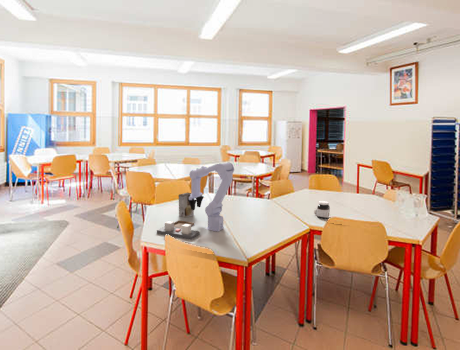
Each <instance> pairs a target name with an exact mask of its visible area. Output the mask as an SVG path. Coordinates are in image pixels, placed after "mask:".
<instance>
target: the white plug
mask: <svg viewBox="0 0 460 350" xmlns="http://www.w3.org/2000/svg"><path fill="white" fill-rule="evenodd" d="M191 230H192V226H191V224H184V225H182V234H187V235H189V234H190V233H191Z"/></svg>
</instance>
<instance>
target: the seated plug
mask: <svg viewBox="0 0 460 350" xmlns="http://www.w3.org/2000/svg"><path fill="white" fill-rule="evenodd" d="M174 222H175V221H171V220H168V221H165V222H164V226H165V231H173V230H174Z"/></svg>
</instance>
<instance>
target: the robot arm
mask: <svg viewBox="0 0 460 350" xmlns="http://www.w3.org/2000/svg"><path fill="white" fill-rule="evenodd" d="M234 171H235V168H234V164H233V163H232V162H230V161H229V162H223V163H215V164H213V165H211V166H208V167H207V166H203V165H202V166H201V167H200V168H196V169H195V170H193V169H192V170H190V172H189V179H191V183H190V186H191V190H190V191H191V194H190V197H189V199H188V202H189V203H190V206H191V210H194V211H195V209H196V207H197V208H200V207H202V206H201V205H202V202H203V199H204V198H205V197H204V195H203V192H201V180H202V178H204V177H205V176H206V177H207V176H208V175H209V174H210V173H212V172H216V173H217V174H218V176H219V177H220V180H221V182H220V184H219V186H218V188H217V191H216V192H215V195H214V197H213V199H212V201H210V202H209V203H208V204H207V206H206V207H205V209H204V211H205V214H206V216H207V227H205V230H210V231H213V232H220V231H221V230H223V229H224V216H221V213H222V211H223V203H222V202H223V201H224V198H225V196H226V194H227V193H228V190H229V188H230V186H231V184H232V182H233V176H234V175H233V173H234Z"/></svg>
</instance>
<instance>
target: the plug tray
mask: <svg viewBox="0 0 460 350" xmlns="http://www.w3.org/2000/svg"><path fill="white" fill-rule="evenodd" d="M173 222H174V227H176V228H182V225H184V224H191V227H194V226H195V222H191V221H186V220H185V221H184V220H180V219H178V220H177V221H173Z"/></svg>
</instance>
